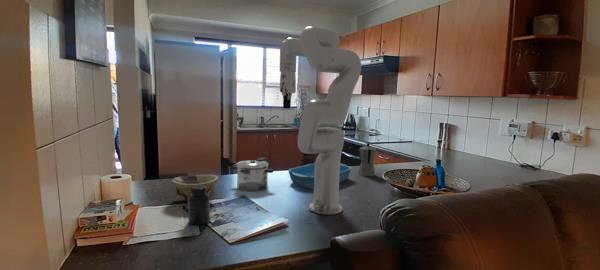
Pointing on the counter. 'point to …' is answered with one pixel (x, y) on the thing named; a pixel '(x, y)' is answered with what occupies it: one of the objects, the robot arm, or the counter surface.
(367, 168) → the coffeepot
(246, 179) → the pot
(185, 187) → the bowl
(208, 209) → the supplement bottle
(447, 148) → the counter surface
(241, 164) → the lid
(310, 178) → the casserole dish
